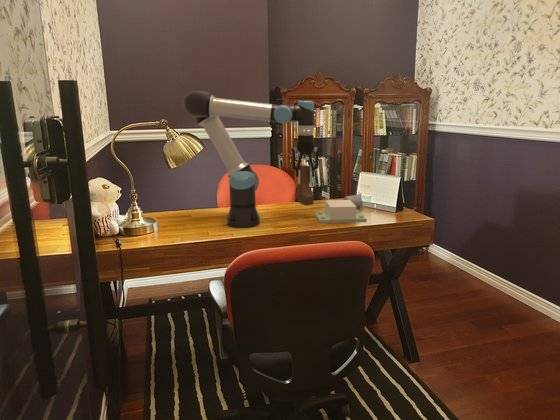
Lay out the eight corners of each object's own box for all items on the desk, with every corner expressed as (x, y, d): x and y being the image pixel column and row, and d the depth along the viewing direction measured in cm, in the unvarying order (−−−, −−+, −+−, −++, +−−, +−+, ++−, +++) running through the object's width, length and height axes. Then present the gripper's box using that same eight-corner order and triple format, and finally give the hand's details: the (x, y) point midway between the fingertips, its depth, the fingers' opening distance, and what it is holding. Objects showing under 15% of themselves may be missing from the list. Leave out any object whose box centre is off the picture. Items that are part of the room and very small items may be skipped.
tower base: (319, 223, 205) (319, 207, 203) (315, 215, 219) (315, 200, 217) (366, 221, 207) (367, 206, 205) (359, 214, 220) (359, 199, 218)
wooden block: (313, 204, 213) (314, 167, 209) (305, 205, 211) (305, 167, 207) (305, 201, 221) (305, 165, 217) (297, 201, 219) (297, 165, 215)
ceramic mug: (341, 208, 232) (342, 194, 230) (356, 207, 234) (356, 193, 232) (350, 213, 222) (351, 198, 220) (365, 212, 224) (366, 197, 222)
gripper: (287, 135, 204) (286, 185, 209) (325, 135, 205) (324, 184, 210) (285, 134, 211) (285, 182, 217) (323, 133, 212) (322, 182, 218)
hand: (304, 183), depth 213 cm, fingers closed on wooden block, 5 cm apart
